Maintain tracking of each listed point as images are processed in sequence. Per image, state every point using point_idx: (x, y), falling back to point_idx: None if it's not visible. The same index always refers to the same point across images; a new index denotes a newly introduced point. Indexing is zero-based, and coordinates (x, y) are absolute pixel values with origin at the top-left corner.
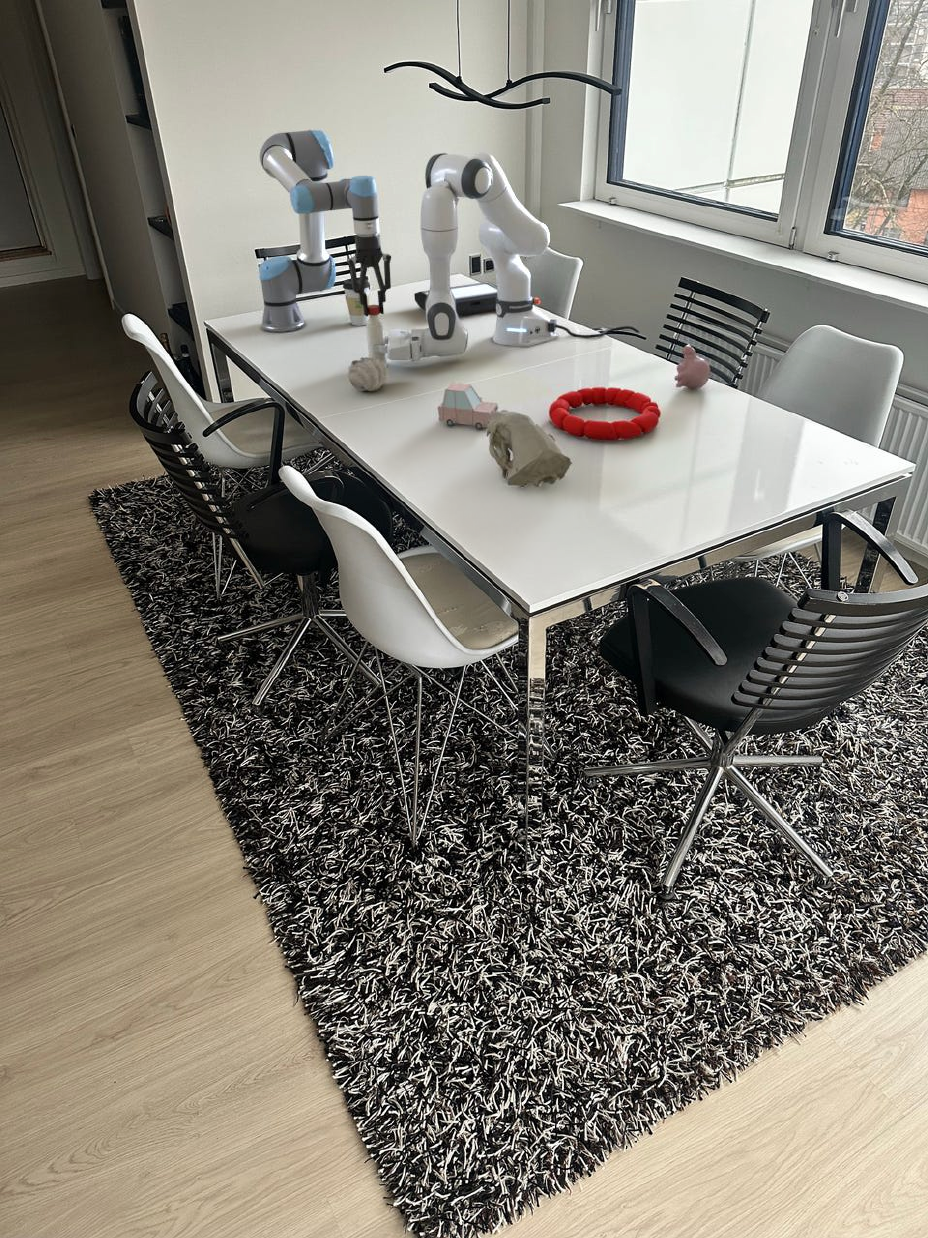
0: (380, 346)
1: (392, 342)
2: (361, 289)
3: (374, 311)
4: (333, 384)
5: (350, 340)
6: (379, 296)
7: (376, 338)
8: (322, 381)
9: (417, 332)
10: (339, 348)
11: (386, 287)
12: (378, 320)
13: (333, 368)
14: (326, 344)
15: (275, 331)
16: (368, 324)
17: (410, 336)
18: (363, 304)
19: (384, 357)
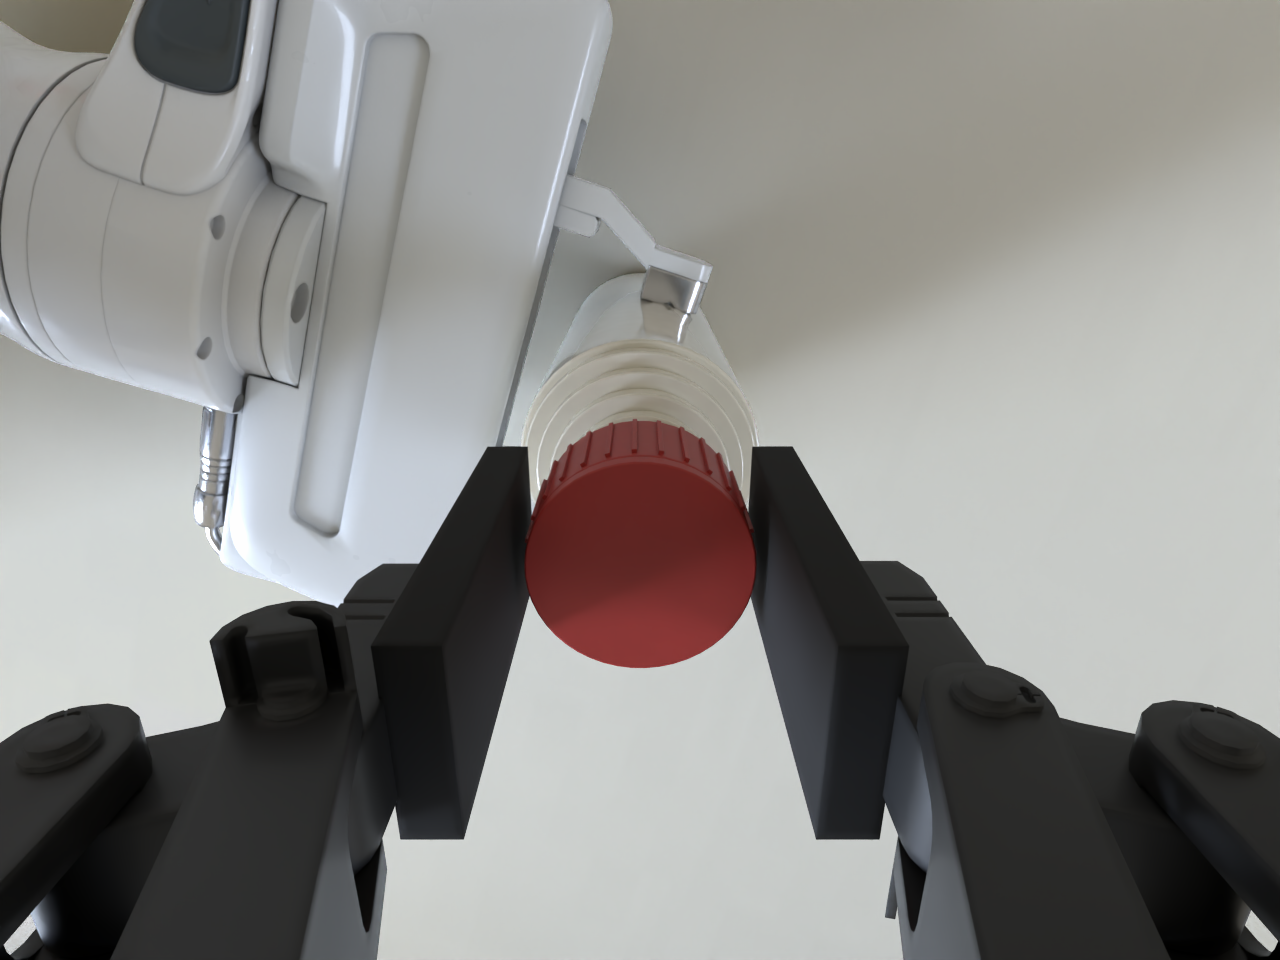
0: (639, 224)
1: (495, 200)
2: (1049, 761)
3: (653, 437)
4: (1139, 35)
5: (670, 894)
6: (474, 634)
7: (659, 313)
8: (1181, 163)
9: (127, 185)
10: (782, 794)
11: (163, 770)
12: (598, 401)
13: (972, 436)
14: (831, 884)
15: None
16: (745, 412)
17: (249, 225)
18: (860, 561)
19: (590, 299)
